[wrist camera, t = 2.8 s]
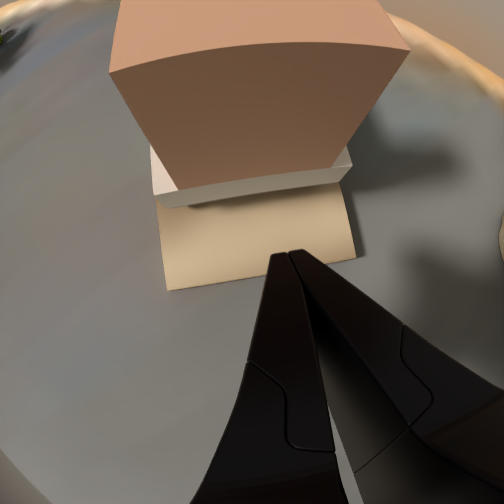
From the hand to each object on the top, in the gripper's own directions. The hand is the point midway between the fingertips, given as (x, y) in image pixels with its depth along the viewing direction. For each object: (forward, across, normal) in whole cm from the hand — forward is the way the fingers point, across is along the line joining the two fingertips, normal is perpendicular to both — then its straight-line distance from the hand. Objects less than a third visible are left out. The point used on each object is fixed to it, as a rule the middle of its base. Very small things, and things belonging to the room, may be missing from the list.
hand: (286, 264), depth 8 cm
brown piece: (+11, 0, -1) cm, 11 cm away
